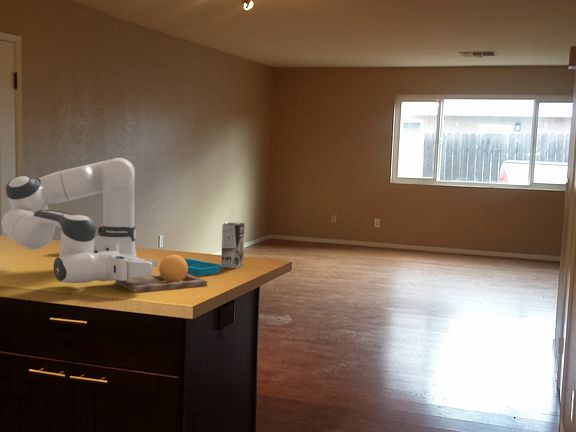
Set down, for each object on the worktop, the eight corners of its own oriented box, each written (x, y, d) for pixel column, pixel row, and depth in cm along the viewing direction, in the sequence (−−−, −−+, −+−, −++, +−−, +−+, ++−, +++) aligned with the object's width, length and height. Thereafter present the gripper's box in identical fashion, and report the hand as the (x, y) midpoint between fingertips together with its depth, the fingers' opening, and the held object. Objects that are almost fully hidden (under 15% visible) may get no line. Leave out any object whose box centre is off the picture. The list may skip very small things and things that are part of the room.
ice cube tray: (199, 277, 214) (199, 269, 214) (161, 269, 227) (161, 261, 227) (224, 273, 223) (224, 265, 223) (186, 266, 236) (186, 258, 236)
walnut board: (133, 292, 186) (134, 287, 186) (115, 282, 199) (115, 278, 199) (207, 285, 200) (207, 280, 199) (185, 276, 213) (185, 272, 213)
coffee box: (237, 268, 232) (238, 225, 230) (220, 267, 233) (221, 224, 232) (244, 264, 241) (245, 222, 239) (227, 263, 242) (228, 221, 241)
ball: (184, 246, 203) (197, 270, 205) (162, 254, 207) (175, 277, 209) (171, 259, 195) (185, 284, 198) (149, 267, 199) (162, 291, 201)
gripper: (100, 270, 199) (142, 267, 206) (123, 282, 182) (168, 278, 190) (100, 250, 198) (142, 248, 206) (123, 260, 181) (168, 257, 189)
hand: (155, 262), depth 198 cm, fingers closed
